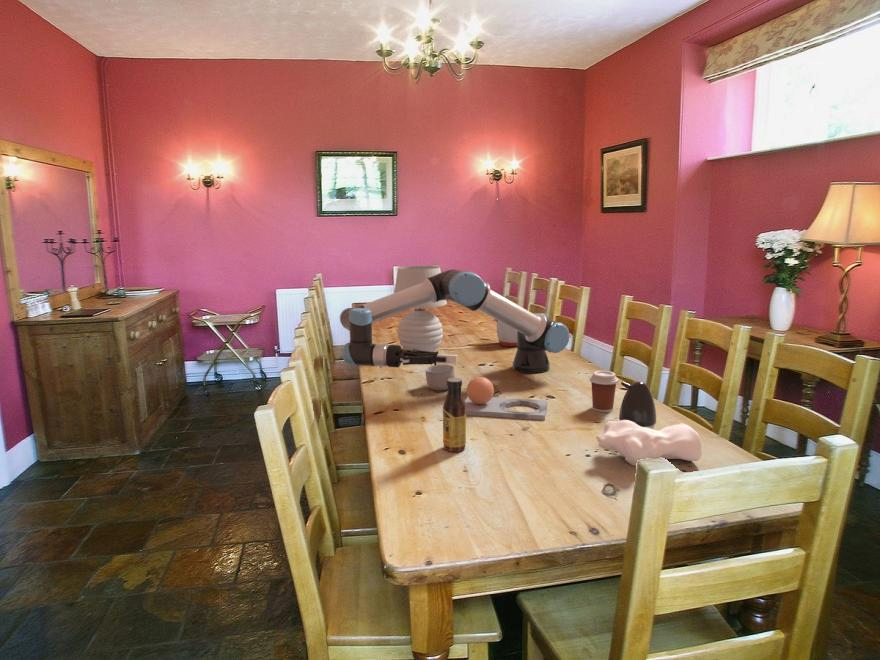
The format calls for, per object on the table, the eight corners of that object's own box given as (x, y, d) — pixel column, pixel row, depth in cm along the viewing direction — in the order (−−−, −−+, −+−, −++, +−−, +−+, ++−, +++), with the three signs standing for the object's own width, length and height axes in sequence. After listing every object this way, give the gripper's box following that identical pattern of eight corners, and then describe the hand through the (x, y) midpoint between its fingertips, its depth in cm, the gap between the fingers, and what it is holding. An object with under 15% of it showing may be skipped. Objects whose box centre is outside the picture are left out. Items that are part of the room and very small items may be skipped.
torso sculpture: (669, 448, 157) (582, 446, 154) (674, 414, 156) (587, 411, 152) (707, 477, 140) (610, 475, 136) (713, 439, 138) (615, 436, 135)
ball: (488, 398, 194) (488, 372, 192) (498, 406, 186) (498, 379, 184) (463, 401, 192) (462, 375, 190) (471, 409, 183) (471, 382, 181)
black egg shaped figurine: (625, 423, 173) (628, 374, 170) (660, 430, 166) (663, 380, 164) (612, 433, 165) (614, 382, 162) (648, 441, 159) (651, 389, 156)
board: (459, 414, 183) (459, 409, 183) (468, 400, 197) (468, 395, 197) (544, 420, 177) (544, 415, 176) (547, 404, 191) (547, 400, 191)
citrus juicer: (493, 341, 291) (493, 302, 287) (527, 341, 289) (528, 302, 285) (491, 347, 276) (491, 307, 272) (528, 348, 273) (528, 307, 270)
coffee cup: (582, 406, 189) (583, 371, 186) (604, 402, 192) (606, 368, 190) (600, 415, 180) (601, 378, 178) (623, 411, 184) (625, 375, 182)
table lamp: (457, 350, 272) (456, 266, 265) (428, 361, 251) (426, 270, 244) (414, 344, 286) (412, 264, 278) (383, 354, 265) (379, 268, 257)
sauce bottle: (442, 444, 159) (441, 376, 155) (464, 443, 159) (464, 375, 155) (444, 454, 152) (443, 382, 148) (467, 453, 153) (467, 381, 149)
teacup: (451, 393, 205) (451, 371, 204) (422, 392, 207) (422, 370, 206) (458, 382, 219) (458, 362, 217) (430, 381, 221) (430, 361, 219)
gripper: (394, 362, 200) (460, 365, 194) (382, 371, 187) (452, 375, 182) (394, 341, 198) (460, 344, 193) (381, 349, 186) (452, 352, 180)
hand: (456, 359), depth 187 cm, fingers closed
